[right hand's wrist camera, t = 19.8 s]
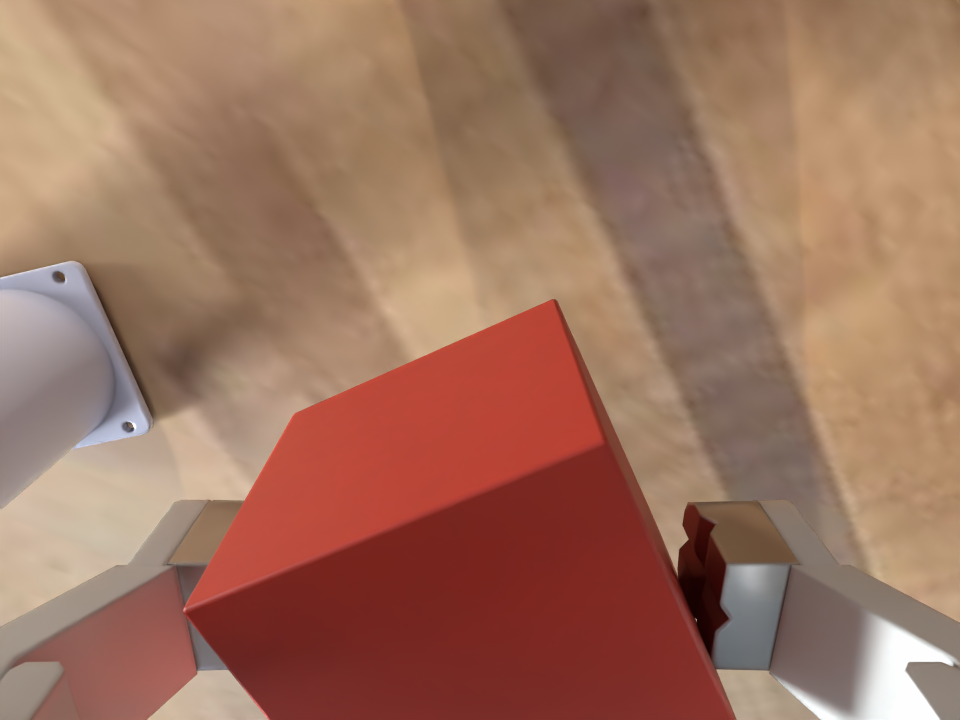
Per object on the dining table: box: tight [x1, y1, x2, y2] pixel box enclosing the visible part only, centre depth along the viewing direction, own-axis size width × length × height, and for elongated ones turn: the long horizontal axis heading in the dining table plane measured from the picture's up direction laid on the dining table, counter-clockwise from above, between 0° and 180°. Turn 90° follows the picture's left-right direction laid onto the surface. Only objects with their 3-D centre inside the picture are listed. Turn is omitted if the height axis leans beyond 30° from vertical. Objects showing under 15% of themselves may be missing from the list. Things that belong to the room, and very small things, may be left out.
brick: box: [183, 299, 736, 720], centre depth 10 cm, size 5×5×5 cm
